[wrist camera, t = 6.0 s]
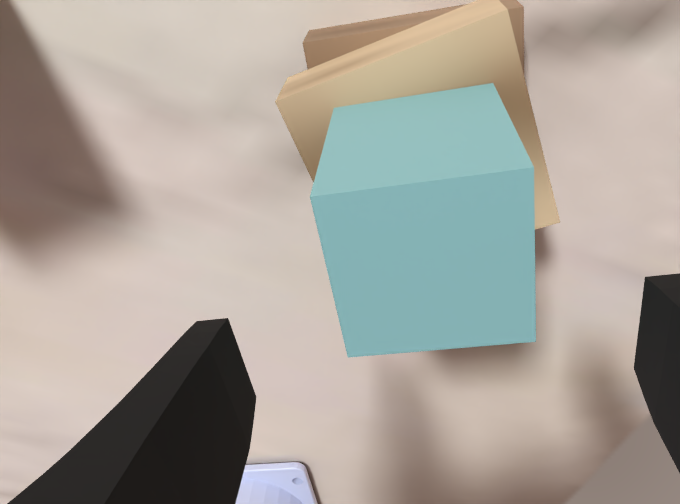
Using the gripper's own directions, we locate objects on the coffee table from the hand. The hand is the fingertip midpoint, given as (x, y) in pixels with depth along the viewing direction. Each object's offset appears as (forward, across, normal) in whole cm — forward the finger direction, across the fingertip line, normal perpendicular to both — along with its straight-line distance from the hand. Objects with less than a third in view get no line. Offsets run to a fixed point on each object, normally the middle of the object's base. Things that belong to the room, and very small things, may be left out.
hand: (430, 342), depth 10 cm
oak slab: (+9, 0, 0) cm, 9 cm away
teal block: (+7, 0, 0) cm, 7 cm away
